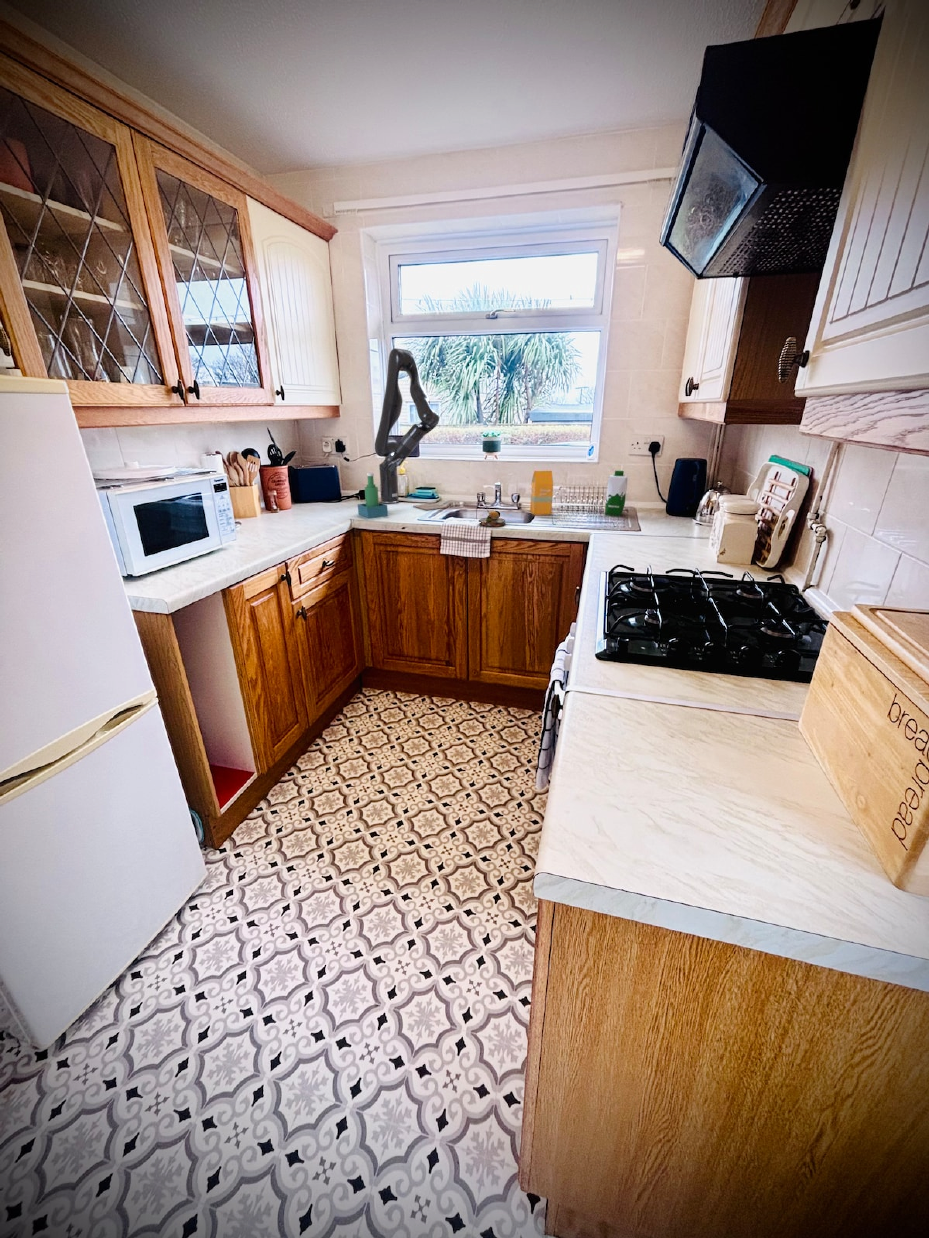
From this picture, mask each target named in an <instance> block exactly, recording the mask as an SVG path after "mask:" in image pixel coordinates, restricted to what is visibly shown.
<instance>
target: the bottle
mask: <svg viewBox="0 0 929 1238" xmlns="http://www.w3.org/2000/svg"><path fill="white" fill-rule="evenodd" d="M366 476H367V484H366V486H364V498H365V504H366V507H375V506H379V503H380V501H379V487H378V486H376V484H375V482H374V472H367V473H366Z"/></svg>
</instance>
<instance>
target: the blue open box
mask: <svg viewBox="0 0 929 1238" xmlns="http://www.w3.org/2000/svg"><path fill="white" fill-rule="evenodd" d="M357 512H358V513H357V514H358V516H360V517H362V518H364V519H368V520H369V519H376V518H384V517H388V516H389V511H388V504H386V503H382V502H379V506H375V507H366V503H358V504H357Z"/></svg>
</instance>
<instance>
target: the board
mask: <svg viewBox="0 0 929 1238" xmlns="http://www.w3.org/2000/svg"><path fill="white" fill-rule="evenodd" d="M413 508H416V509H420V510H423V511H427V512H428V511H435V510H441V509H442V510H443V509H448V508H449V506H447V505H443V504H439V503H435V502H432V503H427V504H426V503H425V504H424V503H423V504H415V505H413Z"/></svg>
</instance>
